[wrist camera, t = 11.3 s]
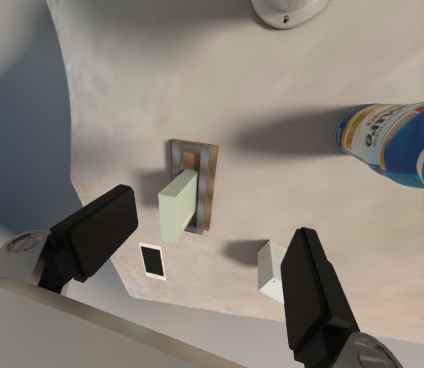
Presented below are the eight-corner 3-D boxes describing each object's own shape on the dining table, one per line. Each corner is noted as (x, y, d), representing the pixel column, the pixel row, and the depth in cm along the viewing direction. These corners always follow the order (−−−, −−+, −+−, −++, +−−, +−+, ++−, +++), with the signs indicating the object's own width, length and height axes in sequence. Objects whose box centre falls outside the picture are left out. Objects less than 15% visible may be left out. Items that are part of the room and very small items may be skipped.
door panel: (185, 168, 38) (157, 193, 28) (199, 171, 38) (175, 197, 27) (185, 206, 43) (160, 239, 32) (196, 208, 42) (176, 243, 31)
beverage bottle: (344, 164, 31) (456, 242, 14) (323, 124, 29) (420, 156, 12) (403, 136, 28) (658, 196, 10) (383, 90, 26) (650, 61, 8)
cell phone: (146, 274, 62) (145, 275, 61) (139, 240, 55) (138, 242, 54) (166, 279, 60) (165, 280, 60) (161, 245, 53) (160, 246, 53)
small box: (257, 251, 45) (256, 290, 35) (269, 238, 42) (272, 276, 33) (284, 266, 45) (290, 309, 35) (298, 254, 42) (309, 297, 33)
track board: (173, 138, 37) (166, 141, 34) (218, 145, 35) (214, 149, 33) (174, 219, 47) (169, 227, 44) (209, 227, 45) (206, 236, 42)
